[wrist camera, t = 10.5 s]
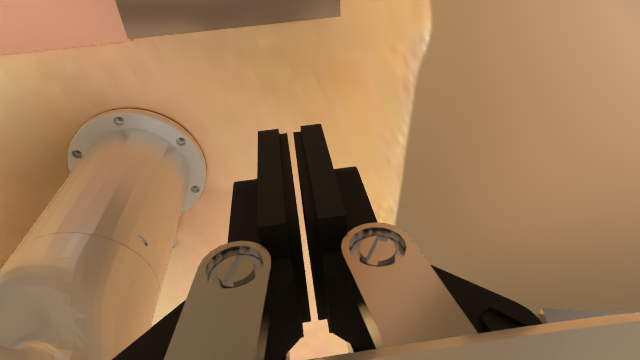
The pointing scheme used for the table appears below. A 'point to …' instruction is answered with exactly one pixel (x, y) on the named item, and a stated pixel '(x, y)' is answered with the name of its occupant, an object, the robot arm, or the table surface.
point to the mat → (58, 24)
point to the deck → (215, 14)
